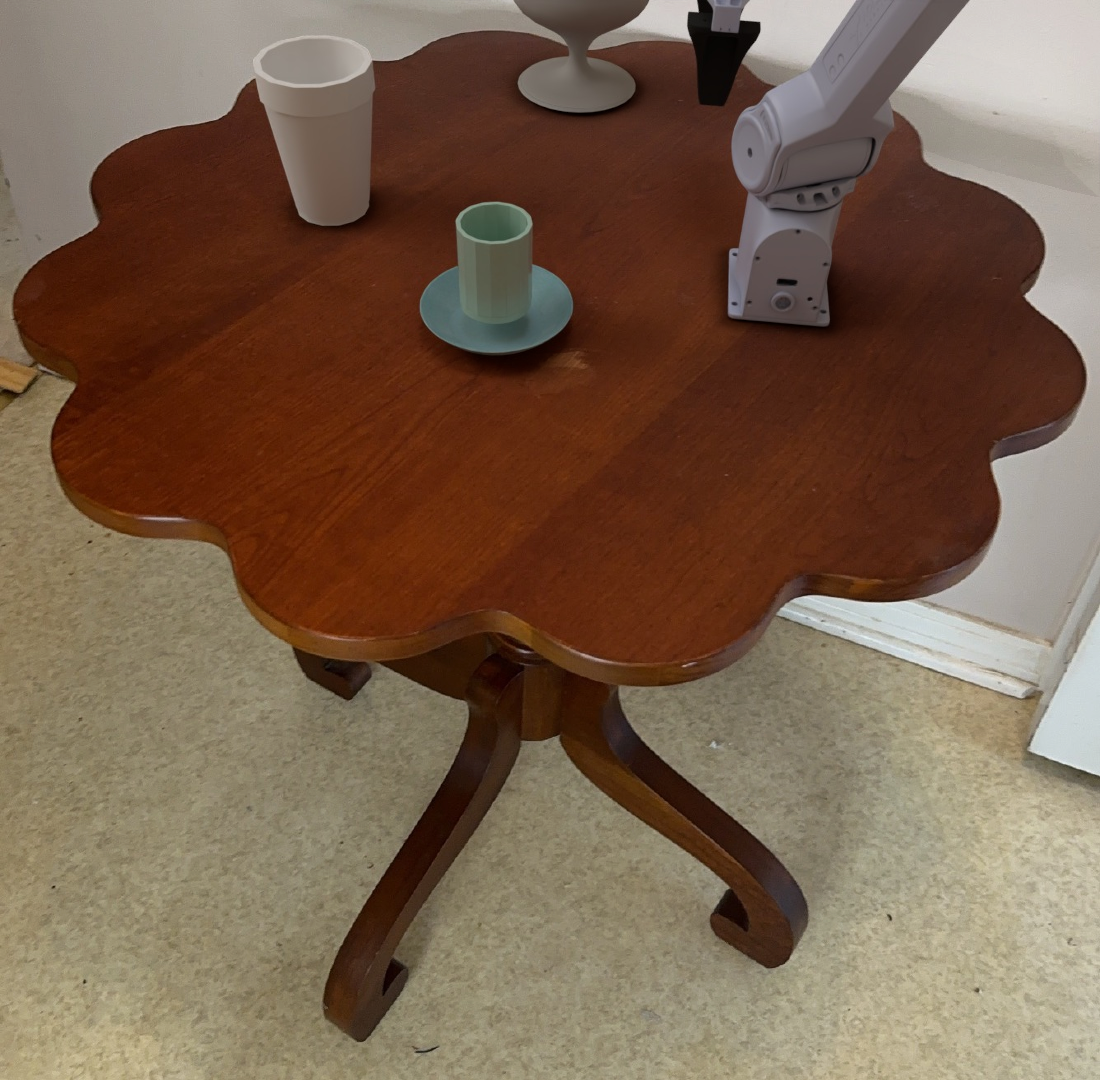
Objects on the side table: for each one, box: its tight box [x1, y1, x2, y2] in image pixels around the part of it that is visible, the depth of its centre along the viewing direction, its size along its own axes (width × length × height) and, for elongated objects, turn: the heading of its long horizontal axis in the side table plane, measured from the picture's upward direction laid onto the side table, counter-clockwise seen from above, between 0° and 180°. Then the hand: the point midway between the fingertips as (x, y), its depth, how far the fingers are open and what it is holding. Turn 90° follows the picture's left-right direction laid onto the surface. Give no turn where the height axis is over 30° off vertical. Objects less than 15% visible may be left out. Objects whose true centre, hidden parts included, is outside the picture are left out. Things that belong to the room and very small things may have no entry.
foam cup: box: [252, 34, 376, 227], centre depth 92 cm, size 10×9×13 cm
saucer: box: [419, 263, 574, 356], centre depth 85 cm, size 12×12×2 cm
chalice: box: [513, 0, 650, 113], centre depth 107 cm, size 14×14×15 cm
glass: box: [455, 201, 534, 324], centre depth 81 cm, size 6×6×7 cm
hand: (712, 81), depth 92 cm, fingers open, 7 cm apart
